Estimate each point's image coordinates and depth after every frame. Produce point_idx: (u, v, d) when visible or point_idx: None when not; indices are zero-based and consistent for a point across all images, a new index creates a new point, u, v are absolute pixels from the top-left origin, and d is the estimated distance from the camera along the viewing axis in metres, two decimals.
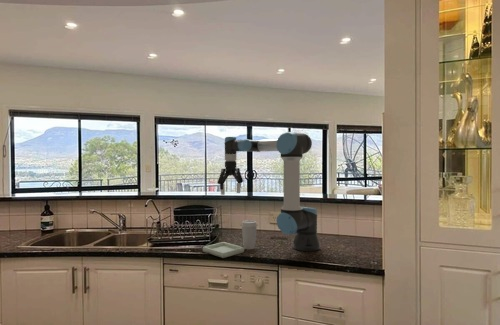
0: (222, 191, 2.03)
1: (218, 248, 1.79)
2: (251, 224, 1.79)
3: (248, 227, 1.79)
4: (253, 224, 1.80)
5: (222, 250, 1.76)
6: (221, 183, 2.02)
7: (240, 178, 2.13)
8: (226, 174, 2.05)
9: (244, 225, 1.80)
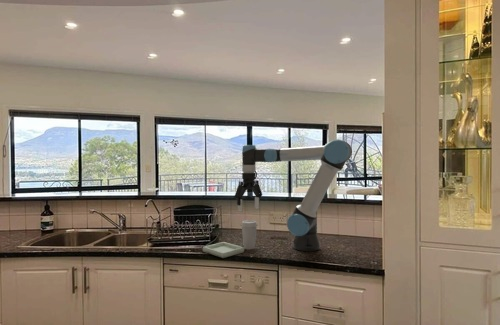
0: (239, 207, 1.78)
1: (218, 248, 1.79)
2: (251, 224, 1.79)
3: (248, 227, 1.79)
4: (253, 224, 1.80)
5: (222, 250, 1.76)
6: (238, 198, 1.77)
7: (259, 192, 1.88)
8: (244, 188, 1.80)
9: (244, 225, 1.80)
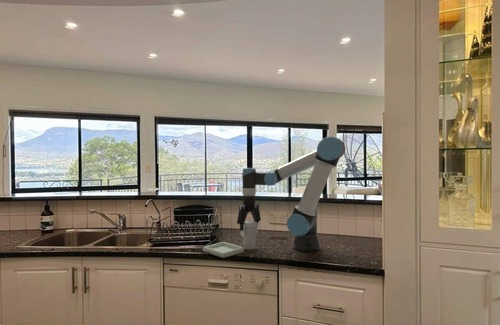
0: (242, 232, 1.79)
1: (218, 248, 1.79)
2: (251, 224, 1.79)
3: (248, 227, 1.79)
4: (253, 224, 1.80)
5: (222, 250, 1.76)
6: (241, 223, 1.78)
7: (258, 216, 1.88)
8: (245, 212, 1.81)
9: None
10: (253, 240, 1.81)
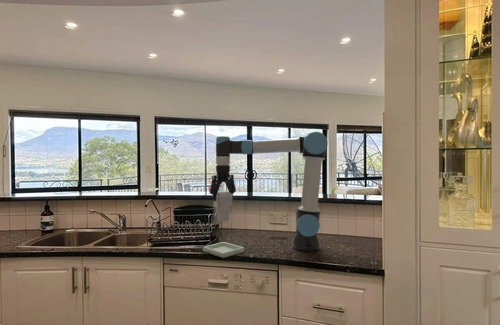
0: (215, 203, 1.72)
1: (218, 248, 1.79)
2: (224, 194, 1.72)
3: (221, 197, 1.72)
4: (226, 194, 1.73)
5: (222, 250, 1.76)
6: (214, 193, 1.71)
7: (233, 187, 1.80)
8: (218, 181, 1.73)
9: None
10: (227, 211, 1.74)
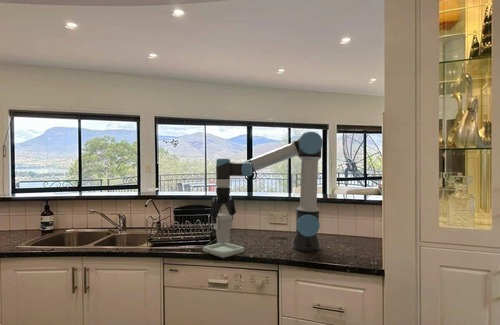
0: (215, 225, 1.72)
1: (218, 248, 1.79)
2: (224, 217, 1.72)
3: (221, 220, 1.72)
4: (226, 217, 1.73)
5: (222, 250, 1.76)
6: (214, 216, 1.71)
7: (233, 208, 1.80)
8: (218, 204, 1.73)
9: None
10: (227, 233, 1.74)
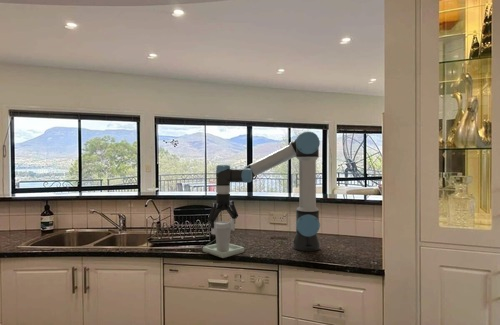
0: (213, 230, 1.71)
1: None
2: (224, 225, 1.72)
3: (221, 228, 1.72)
4: (226, 225, 1.73)
5: None
6: (212, 221, 1.70)
7: (234, 212, 1.81)
8: (218, 209, 1.73)
9: (217, 226, 1.72)
10: (226, 242, 1.74)
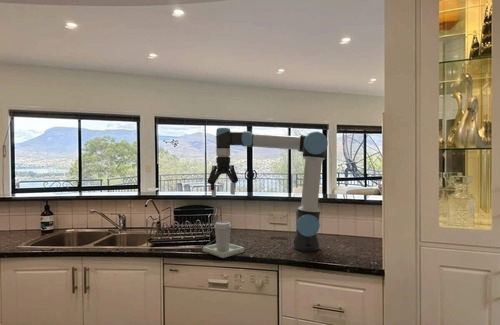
0: (213, 192, 1.71)
1: None
2: (224, 225, 1.72)
3: (221, 229, 1.72)
4: (226, 225, 1.73)
5: None
6: (212, 183, 1.70)
7: (235, 177, 1.81)
8: (218, 172, 1.73)
9: (217, 226, 1.72)
10: (226, 242, 1.73)
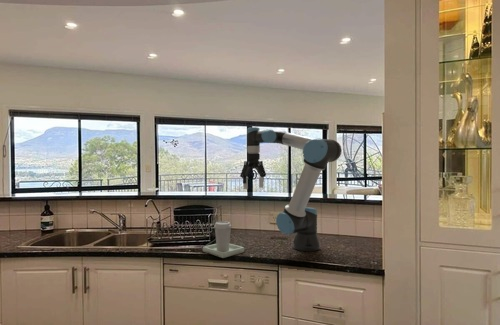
0: (245, 185, 1.91)
1: None
2: (224, 225, 1.72)
3: (221, 229, 1.72)
4: (226, 225, 1.73)
5: None
6: (244, 177, 1.89)
7: (263, 172, 2.01)
8: (249, 167, 1.93)
9: (217, 226, 1.72)
10: (226, 242, 1.73)
